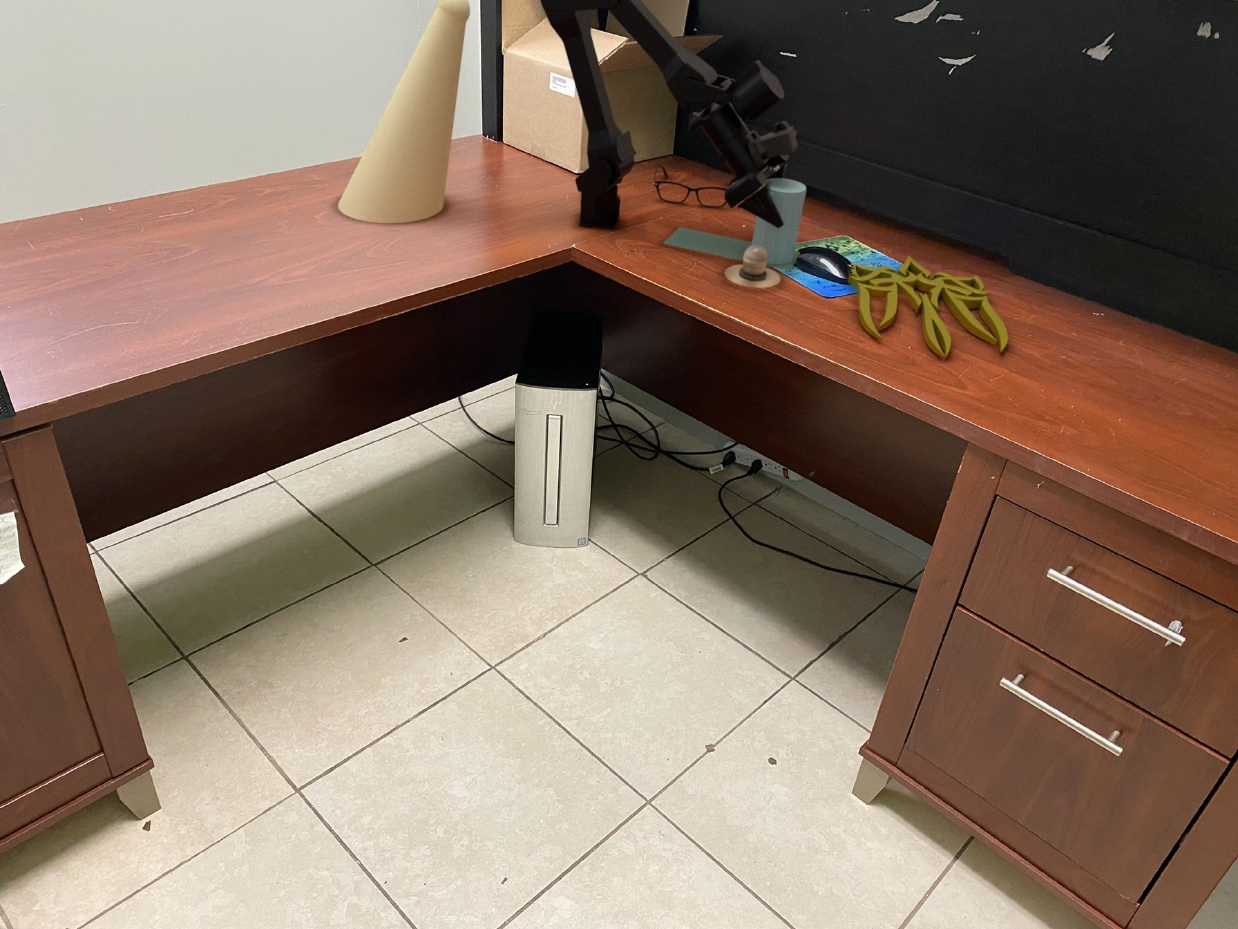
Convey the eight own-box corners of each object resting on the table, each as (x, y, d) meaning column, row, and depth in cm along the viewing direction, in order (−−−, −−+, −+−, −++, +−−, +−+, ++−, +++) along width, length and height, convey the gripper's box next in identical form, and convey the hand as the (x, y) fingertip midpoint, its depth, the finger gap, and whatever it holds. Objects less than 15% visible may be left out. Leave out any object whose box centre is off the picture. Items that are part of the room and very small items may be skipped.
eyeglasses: (648, 201, 165) (650, 180, 163) (658, 176, 178) (660, 156, 176) (734, 211, 164) (737, 190, 161) (738, 185, 176) (741, 165, 174)
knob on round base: (725, 288, 135) (730, 254, 131) (722, 265, 142) (727, 232, 139) (783, 292, 135) (789, 259, 132) (776, 269, 142) (782, 237, 139)
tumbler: (756, 264, 142) (769, 191, 135) (746, 247, 148) (757, 177, 141) (797, 264, 143) (811, 192, 136) (785, 248, 149) (798, 178, 142)
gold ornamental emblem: (974, 261, 146) (1028, 361, 118) (971, 270, 147) (1024, 371, 119) (842, 247, 147) (865, 342, 119) (840, 256, 148) (862, 352, 120)
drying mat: (662, 245, 147) (662, 243, 147) (679, 229, 154) (679, 226, 154) (788, 273, 141) (788, 270, 141) (800, 254, 148) (800, 252, 148)
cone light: (320, 215, 148) (288, -16, 127) (361, 183, 163) (339, -30, 142) (460, 233, 146) (450, 0, 126) (489, 198, 161) (484, -15, 140)
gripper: (756, 120, 126) (816, 209, 129) (786, 95, 140) (839, 175, 143) (698, 165, 133) (756, 248, 136) (733, 136, 147) (784, 213, 150)
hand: (786, 219), depth 141 cm, fingers closed on tumbler, 7 cm apart
